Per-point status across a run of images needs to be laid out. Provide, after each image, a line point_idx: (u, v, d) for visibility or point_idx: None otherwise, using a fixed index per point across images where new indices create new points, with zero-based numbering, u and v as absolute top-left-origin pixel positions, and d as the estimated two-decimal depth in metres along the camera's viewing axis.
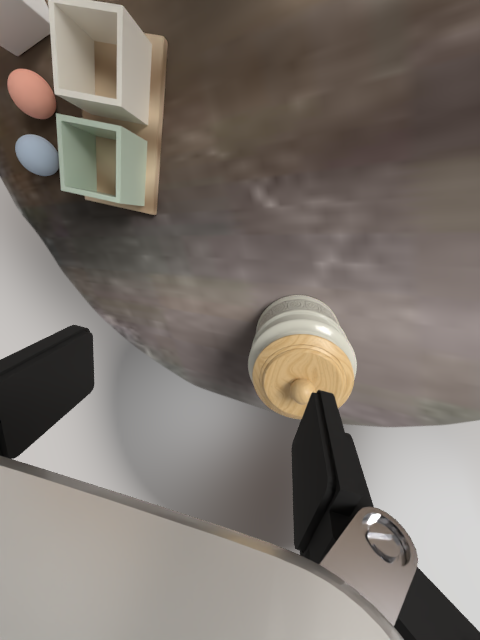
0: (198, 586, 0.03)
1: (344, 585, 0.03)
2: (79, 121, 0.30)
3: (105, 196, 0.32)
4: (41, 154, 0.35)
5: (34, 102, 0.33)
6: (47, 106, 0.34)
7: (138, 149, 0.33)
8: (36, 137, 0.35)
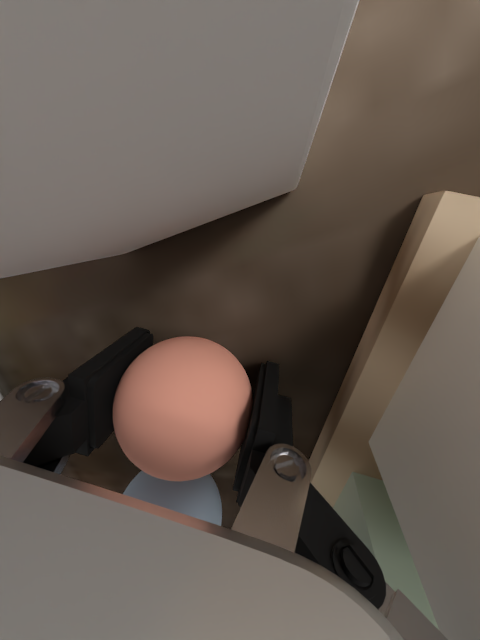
0: (198, 586, 0.03)
1: (344, 585, 0.03)
2: None
3: None
4: None
5: (212, 471, 0.08)
6: None
7: None
8: (183, 513, 0.10)
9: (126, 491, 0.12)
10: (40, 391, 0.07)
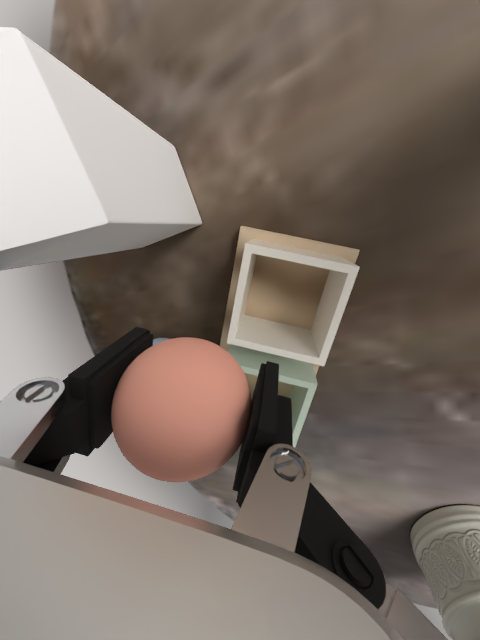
0: (198, 586, 0.03)
1: (344, 585, 0.03)
2: (256, 373, 0.22)
3: None
4: None
5: (211, 472, 0.08)
6: None
7: None
8: None
9: None
10: (40, 391, 0.07)
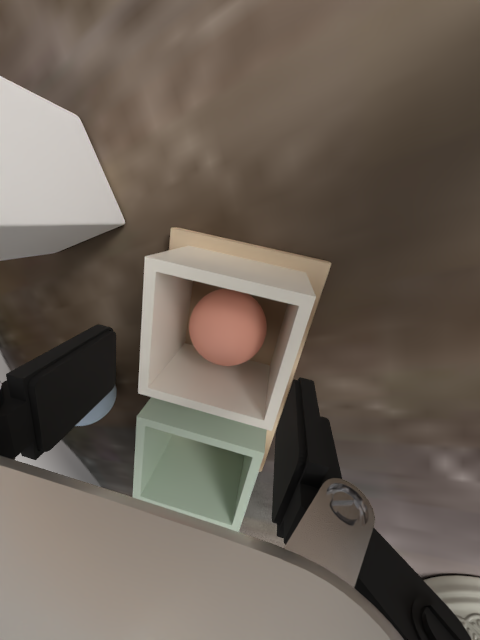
0: (198, 586, 0.03)
1: (344, 585, 0.03)
2: (181, 433, 0.16)
3: (212, 520, 0.18)
4: (93, 411, 0.21)
5: (245, 359, 0.15)
6: None
7: None
8: None
9: None
10: None
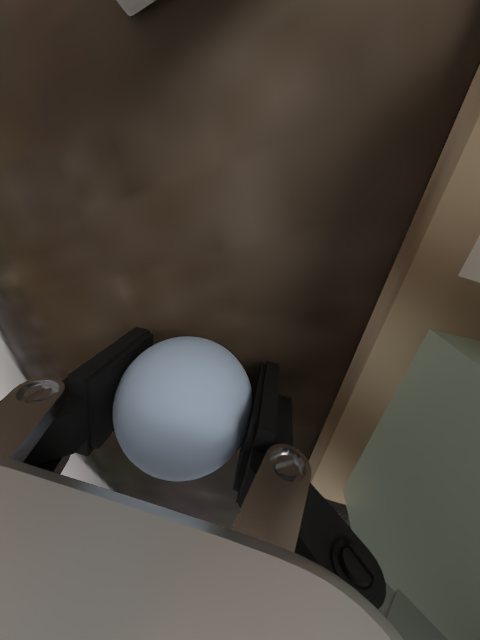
0: (198, 586, 0.03)
1: (344, 585, 0.03)
2: None
3: None
4: (229, 446, 0.08)
5: None
6: None
7: None
8: (208, 374, 0.08)
9: (131, 363, 0.09)
10: (40, 391, 0.07)
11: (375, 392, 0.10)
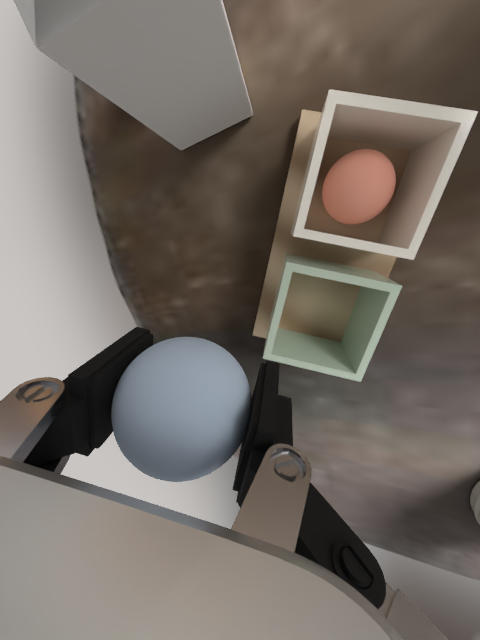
0: (198, 586, 0.03)
1: (344, 585, 0.03)
2: (326, 275, 0.18)
3: (337, 371, 0.21)
4: (227, 447, 0.08)
5: (379, 207, 0.18)
6: None
7: None
8: (206, 374, 0.08)
9: (130, 364, 0.09)
10: (40, 391, 0.07)
11: (272, 280, 0.25)
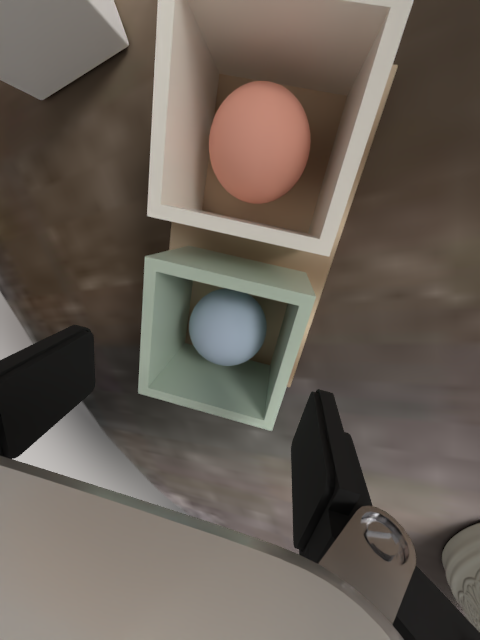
0: (198, 586, 0.03)
1: (344, 585, 0.03)
2: (204, 277, 0.12)
3: (239, 415, 0.15)
4: (255, 342, 0.15)
5: (281, 174, 0.12)
6: (297, 178, 0.13)
7: None
8: (244, 302, 0.15)
9: (198, 302, 0.16)
10: None
11: None
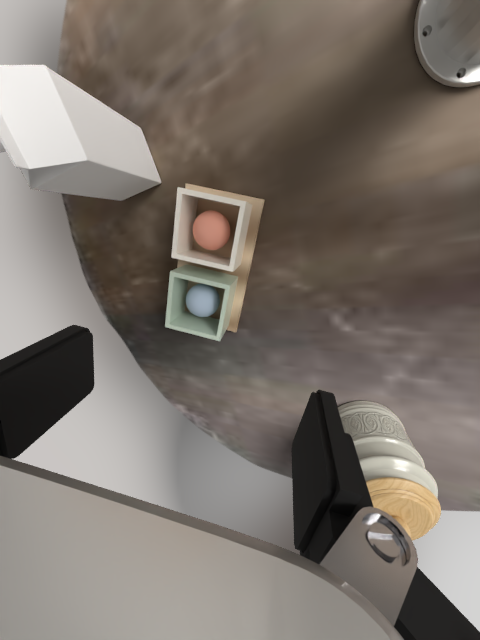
0: (198, 586, 0.03)
1: (344, 585, 0.03)
2: (191, 279, 0.33)
3: (206, 334, 0.36)
4: (212, 305, 0.36)
5: (217, 242, 0.33)
6: (225, 242, 0.34)
7: (233, 289, 0.37)
8: (208, 289, 0.36)
9: None
10: None
11: None
